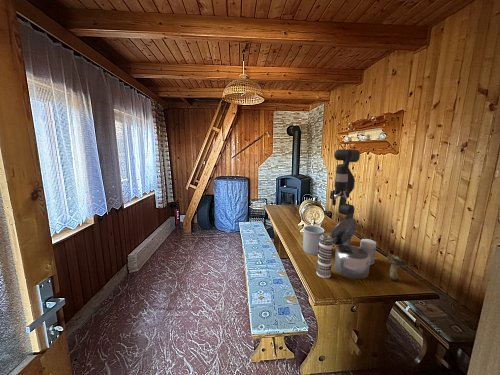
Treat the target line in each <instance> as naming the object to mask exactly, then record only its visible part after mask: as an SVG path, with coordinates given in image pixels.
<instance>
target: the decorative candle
mask: <svg viewBox="0 0 500 375" xmlns="http://www.w3.org/2000/svg"><path fill="white" fill-rule="evenodd" d="M319 238H320V242H319V243H318V255H317V258H318V259H317V262H316V270H315V271H316V275H317V276H319V277H320V278H324V279H329V278H330V277H331V276H332V267H333V265H332V259H333V256H334V247H335V244H333V240H334V239H333V238H332V236H331V234H325V233H324V235H322V236H320V237H319Z"/></svg>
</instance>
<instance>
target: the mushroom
mask: <svg viewBox="0 0 500 375" xmlns="http://www.w3.org/2000/svg"><path fill="white" fill-rule="evenodd" d="M386 259H387V261H388V262H389V263H391V265H390V267H389V279H391V280H392V281H395V282H396V281H397V280H398V277H399V275H398V273H397V272H398V270H399V267H400V268H406V267H407V262H406V261H405V260H404V259H403V258H401V257H399V255H396V254H388V255H387V257H386Z"/></svg>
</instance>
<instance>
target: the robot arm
mask: <svg viewBox="0 0 500 375" xmlns="http://www.w3.org/2000/svg"><path fill="white" fill-rule="evenodd" d="M333 156H334V159H335V160H336V161H342V163H340V164H337V165H336V169H335V175H334V176H335V177H334V189H330V193H329V194H330V195H329V199H330V200H331V204H332V206H336V204H337V199H338V198H339V202H338V213H339V214H340V215H343V216H346V215H349V214H353V217H352V218H353V219H354V217H355V216H354V215H355V206H354V205H353V204H350V203H347V199H348V198H349V199H350V194H351V193H352V192H353V190H354V189H355V182H356V179H355V177H354V175H353V173H352V171H351V169H350V167H349V166H350V163H357V162H358V161H359V160H360V157H361V153H360V151H359V150H358V149H345V148H343V149H337V150H335V152H334V154H333ZM345 218H346V217H343V218H340V219H339V222H340V221H341V220H343V219H345ZM339 222H338V223H339ZM351 243H352V237H351V238H350V239H349V240H348V241H347V242H345V243H343V244H341V245H352V244H351Z"/></svg>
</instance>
